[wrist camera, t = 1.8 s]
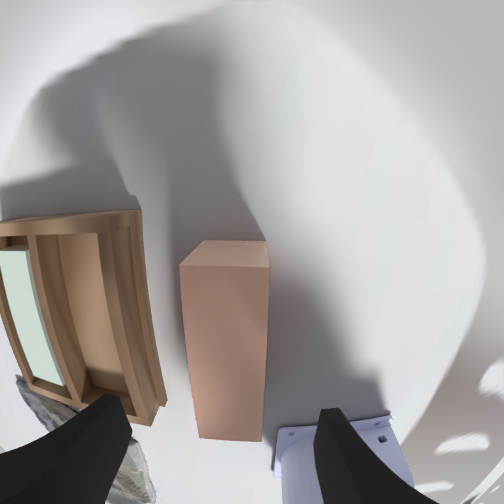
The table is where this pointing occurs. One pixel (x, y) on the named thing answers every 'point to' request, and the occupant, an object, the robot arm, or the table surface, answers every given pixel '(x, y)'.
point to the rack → (91, 308)
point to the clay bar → (227, 335)
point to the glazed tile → (28, 313)
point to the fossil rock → (133, 465)
